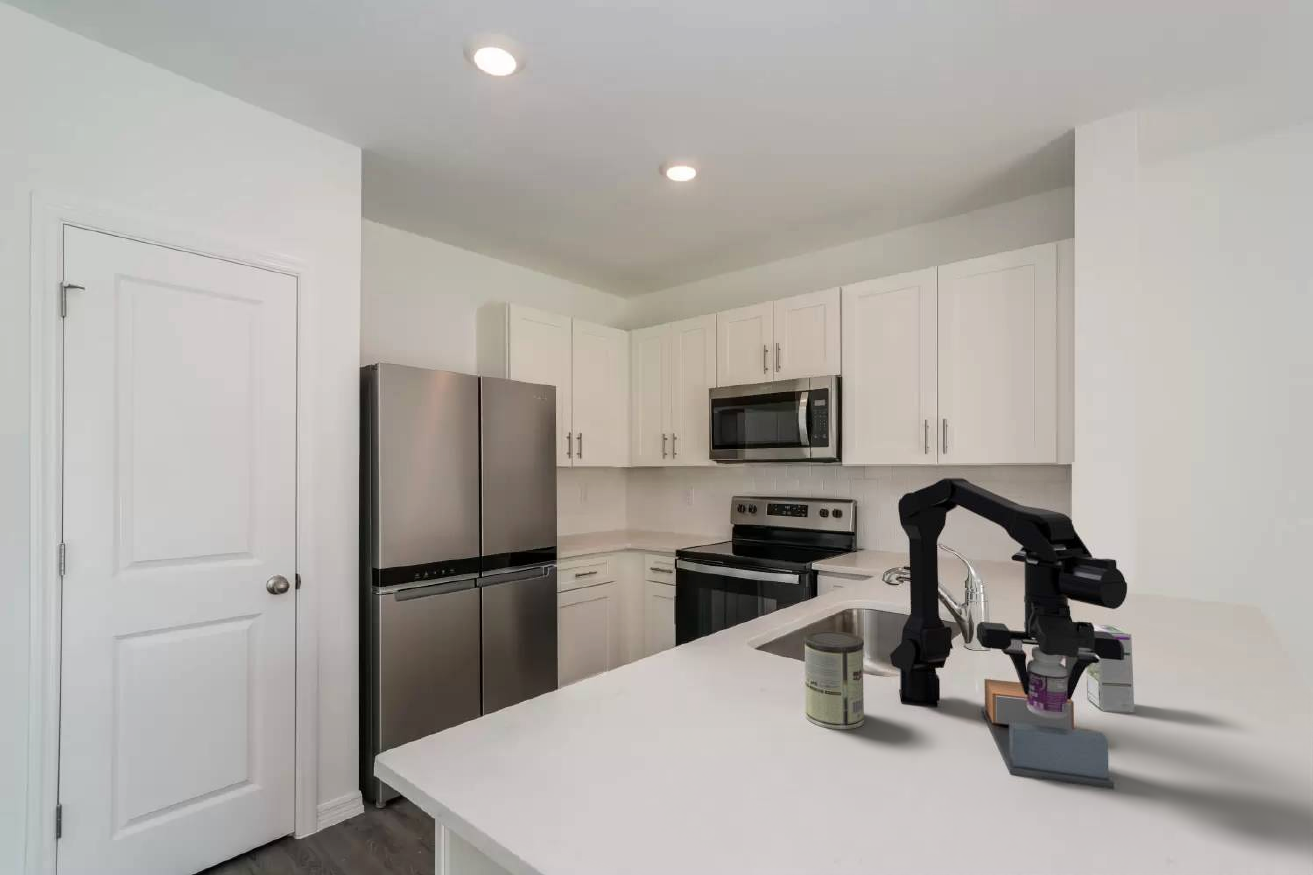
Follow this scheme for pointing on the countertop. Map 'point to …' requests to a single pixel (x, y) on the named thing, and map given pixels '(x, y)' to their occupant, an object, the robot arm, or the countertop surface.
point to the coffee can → (834, 679)
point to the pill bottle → (1047, 685)
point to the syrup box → (1112, 677)
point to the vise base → (1052, 753)
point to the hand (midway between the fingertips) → (1046, 696)
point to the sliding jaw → (1018, 706)
